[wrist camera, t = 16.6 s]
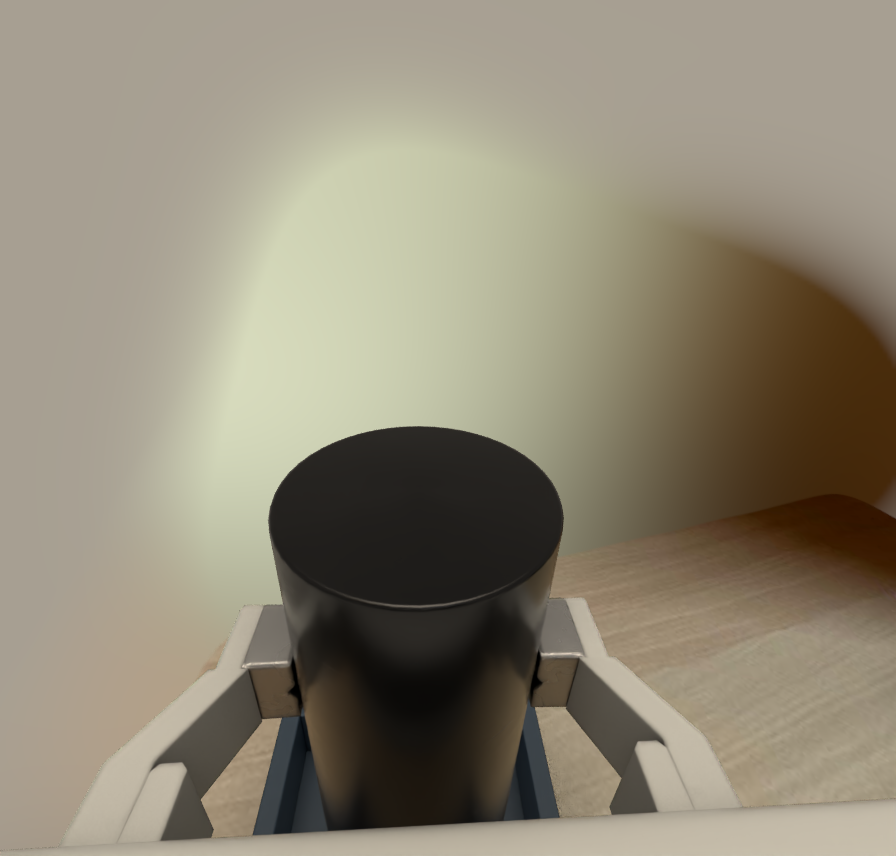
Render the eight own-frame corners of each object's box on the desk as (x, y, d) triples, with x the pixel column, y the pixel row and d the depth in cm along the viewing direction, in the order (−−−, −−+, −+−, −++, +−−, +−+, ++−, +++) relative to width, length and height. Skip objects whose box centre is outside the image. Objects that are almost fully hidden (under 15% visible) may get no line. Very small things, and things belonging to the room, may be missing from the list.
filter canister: (304, 908, 11) (217, 614, 6) (338, 689, 15) (305, 424, 10) (524, 893, 11) (611, 604, 6) (493, 684, 15) (528, 425, 11)
